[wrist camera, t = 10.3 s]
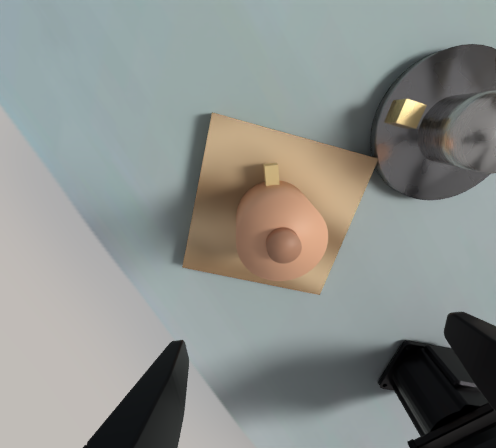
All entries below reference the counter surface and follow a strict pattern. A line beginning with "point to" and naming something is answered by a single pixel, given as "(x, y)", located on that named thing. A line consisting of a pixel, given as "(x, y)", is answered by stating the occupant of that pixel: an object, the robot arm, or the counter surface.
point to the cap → (279, 230)
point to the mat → (252, 173)
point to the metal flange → (439, 124)
